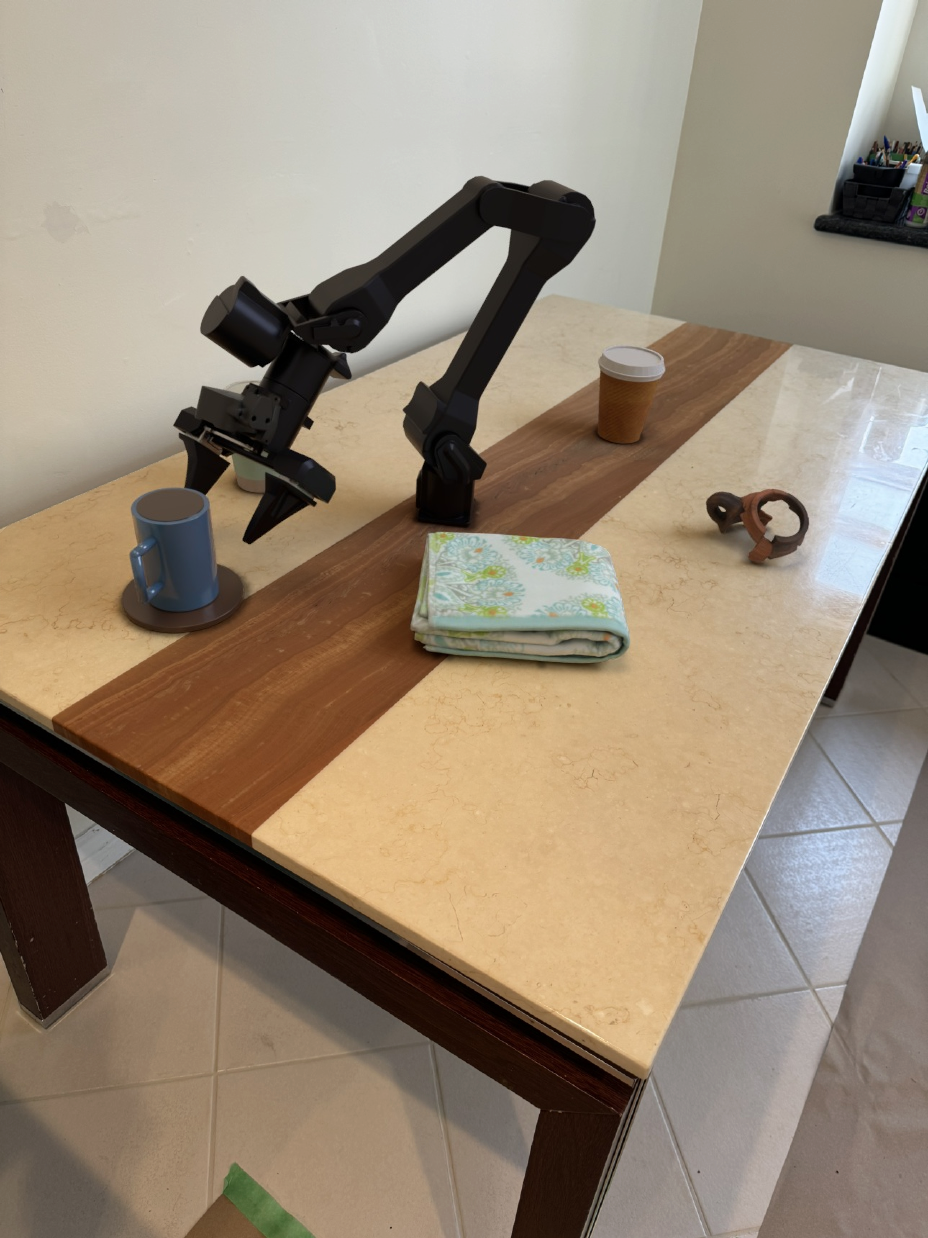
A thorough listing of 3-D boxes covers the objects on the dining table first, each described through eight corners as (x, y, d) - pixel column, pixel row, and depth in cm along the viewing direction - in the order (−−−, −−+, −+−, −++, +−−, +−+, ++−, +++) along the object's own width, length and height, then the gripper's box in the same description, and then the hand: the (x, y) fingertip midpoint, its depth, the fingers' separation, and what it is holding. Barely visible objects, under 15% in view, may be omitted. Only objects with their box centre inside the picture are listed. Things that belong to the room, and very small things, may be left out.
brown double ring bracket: (785, 530, 111) (821, 496, 103) (772, 592, 107) (809, 561, 99) (698, 494, 110) (728, 458, 103) (682, 555, 106) (712, 521, 99)
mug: (172, 565, 93) (158, 480, 87) (232, 580, 91) (223, 495, 85) (112, 618, 85) (93, 529, 79) (178, 636, 83) (163, 546, 77)
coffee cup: (280, 502, 107) (275, 410, 100) (215, 492, 108) (204, 399, 101) (305, 472, 113) (301, 383, 106) (242, 462, 114) (235, 373, 107)
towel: (421, 556, 99) (423, 517, 96) (607, 570, 99) (615, 531, 96) (408, 656, 84) (410, 614, 81) (626, 672, 85) (636, 631, 82)
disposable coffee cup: (579, 439, 127) (591, 359, 120) (596, 416, 135) (609, 339, 128) (642, 454, 125) (659, 372, 118) (656, 429, 132) (673, 351, 125)
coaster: (259, 573, 94) (258, 567, 94) (221, 640, 85) (220, 634, 84) (151, 559, 95) (150, 554, 94) (101, 624, 85) (100, 618, 85)
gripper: (175, 328, 87) (99, 465, 86) (311, 379, 78) (228, 532, 78) (243, 383, 97) (175, 507, 96) (369, 434, 88) (296, 569, 88)
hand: (214, 526), depth 89 cm, fingers open, 9 cm apart
